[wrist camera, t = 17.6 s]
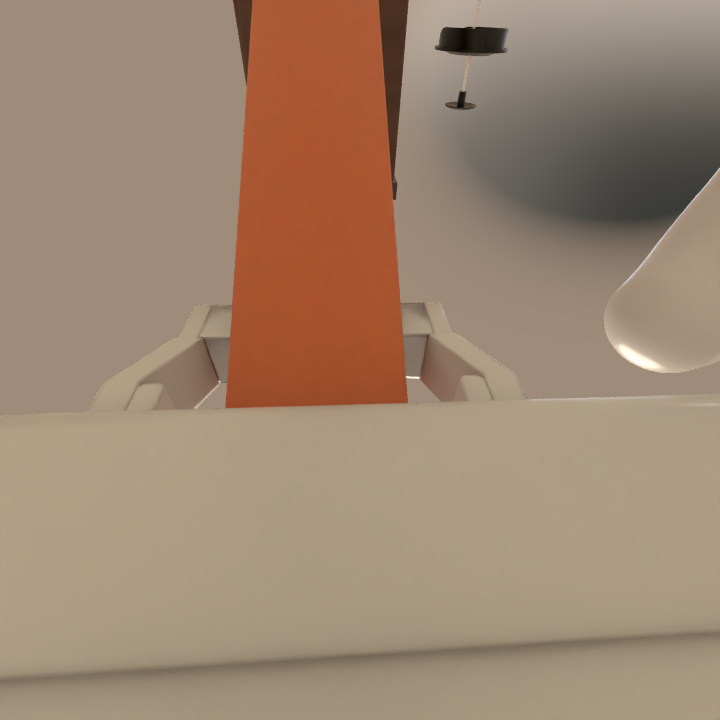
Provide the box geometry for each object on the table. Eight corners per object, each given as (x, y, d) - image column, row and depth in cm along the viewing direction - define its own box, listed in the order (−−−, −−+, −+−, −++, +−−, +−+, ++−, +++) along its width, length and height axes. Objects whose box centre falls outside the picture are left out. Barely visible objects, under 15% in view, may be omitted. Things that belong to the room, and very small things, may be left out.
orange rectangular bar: (224, 415, 9) (253, 427, 12) (408, 409, 9) (392, 422, 12) (263, -166, 16) (275, -68, 19) (367, -160, 16) (363, -64, 19)
